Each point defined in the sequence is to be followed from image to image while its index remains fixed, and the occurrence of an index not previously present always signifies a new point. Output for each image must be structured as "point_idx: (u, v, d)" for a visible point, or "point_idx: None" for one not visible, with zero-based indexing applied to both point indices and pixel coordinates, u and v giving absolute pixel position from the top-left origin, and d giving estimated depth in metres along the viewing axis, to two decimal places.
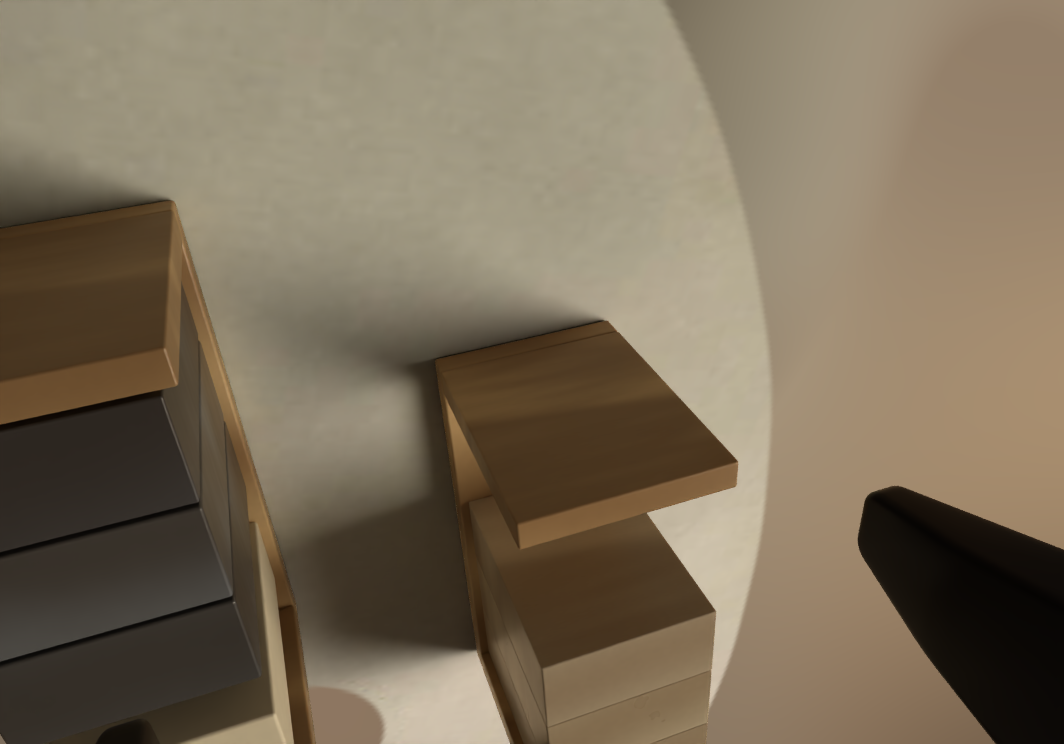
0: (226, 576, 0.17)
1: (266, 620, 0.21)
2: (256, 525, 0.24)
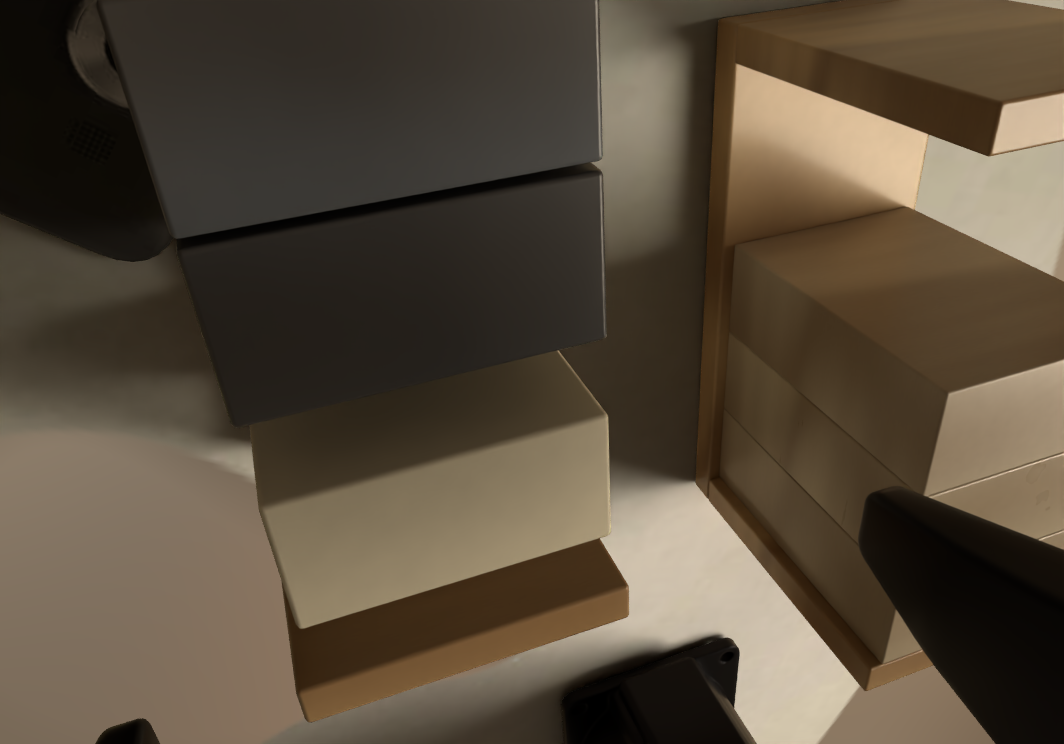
0: (601, 115, 0.10)
1: None
2: None
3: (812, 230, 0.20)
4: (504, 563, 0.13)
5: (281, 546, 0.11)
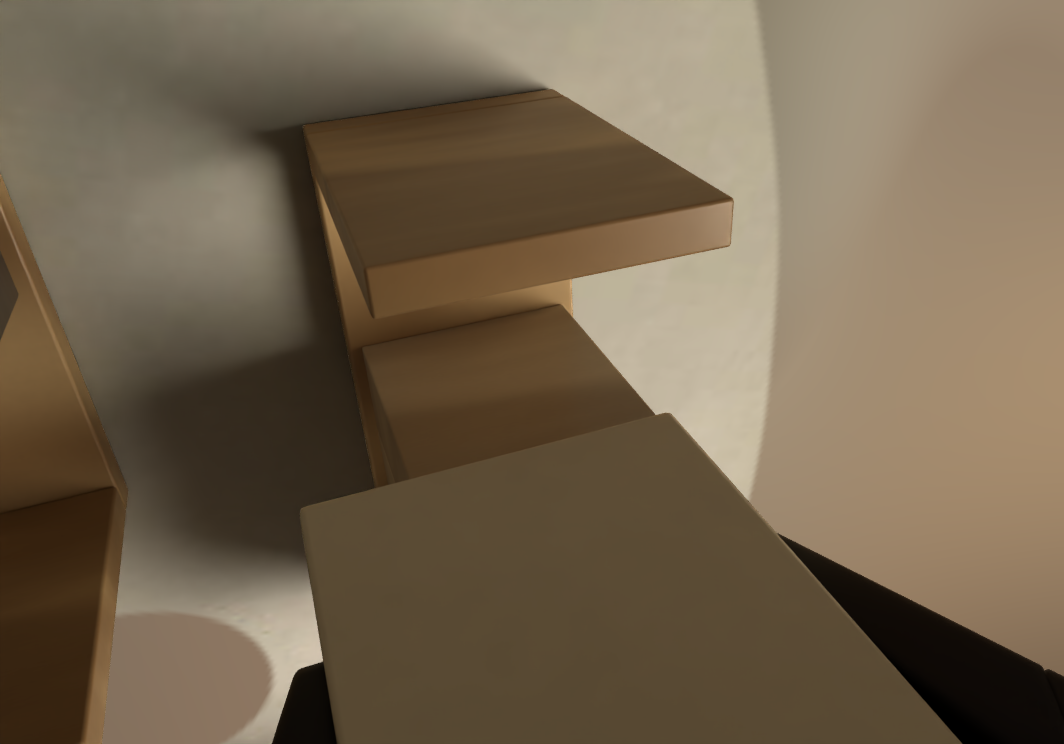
0: None
1: (859, 628, 0.08)
2: (674, 419, 0.11)
3: (449, 331, 0.20)
4: None
5: None
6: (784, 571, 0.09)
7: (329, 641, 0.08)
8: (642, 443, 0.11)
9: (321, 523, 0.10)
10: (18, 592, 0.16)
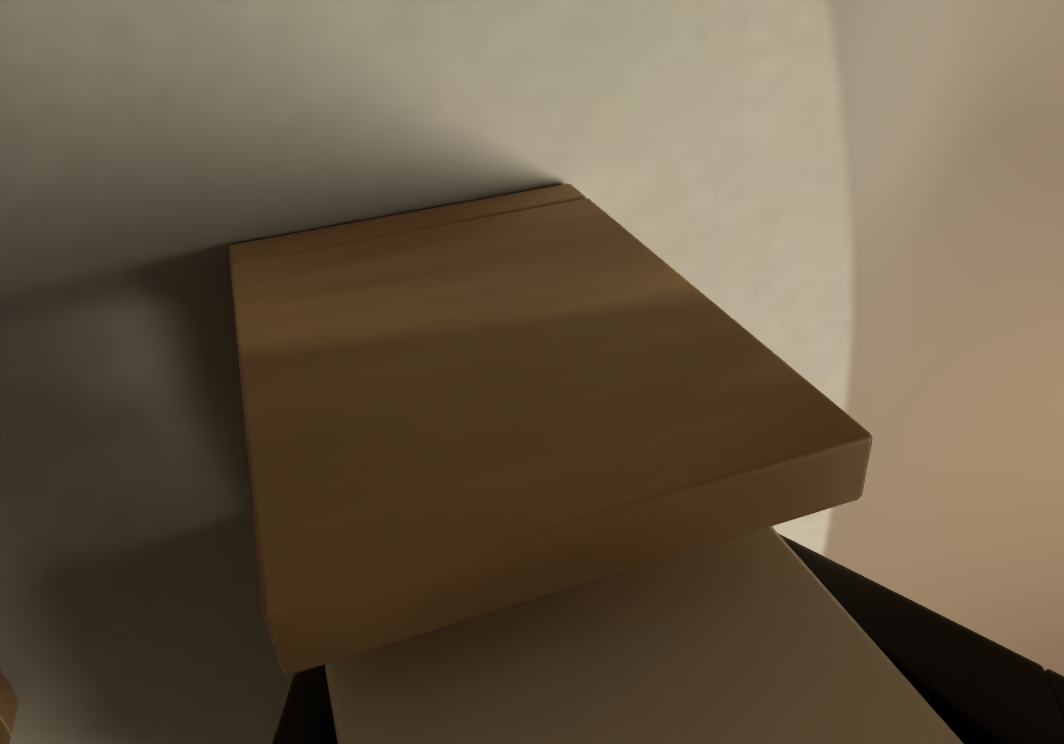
0: None
1: (860, 628, 0.08)
2: None
3: None
4: None
5: None
6: (785, 570, 0.09)
7: None
8: None
9: None
10: None
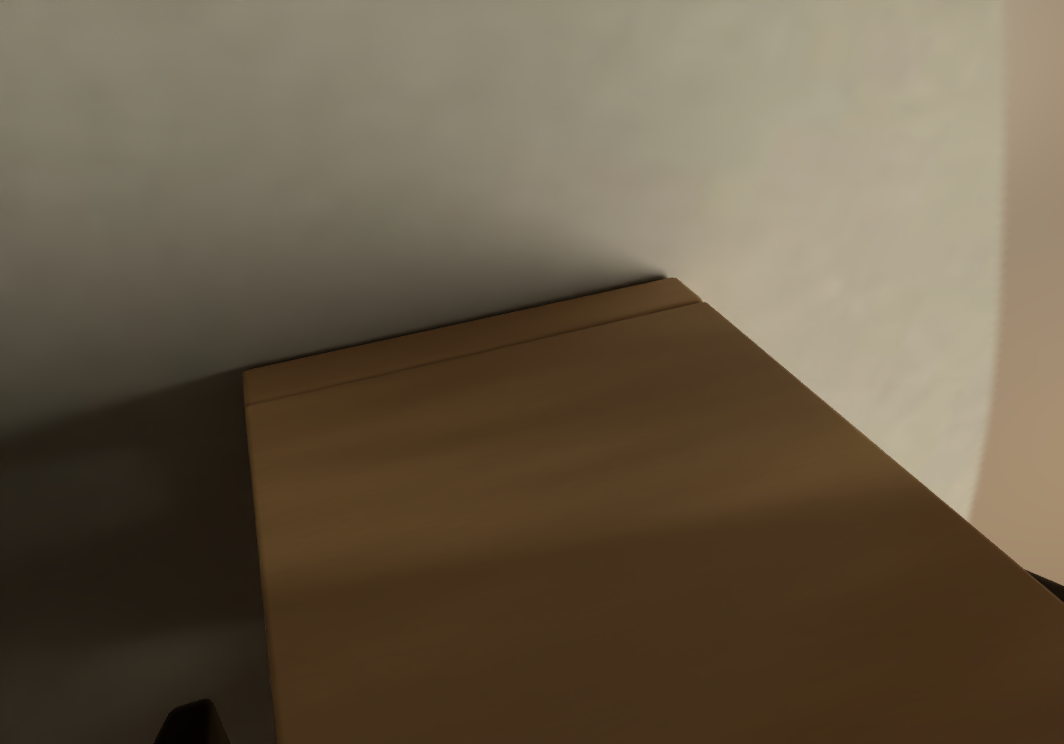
0: None
1: None
2: None
3: None
4: None
5: None
6: None
7: None
8: None
9: None
10: None
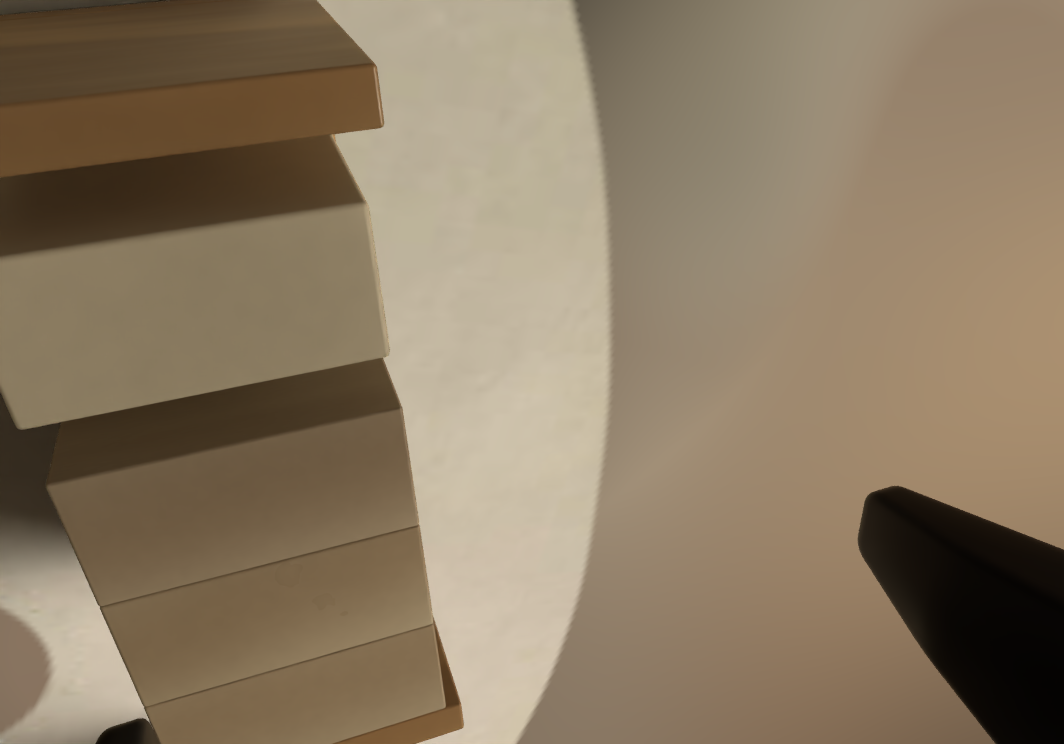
0: None
1: None
2: None
3: None
4: (263, 375, 0.12)
5: None
6: None
7: None
8: None
9: None
10: None
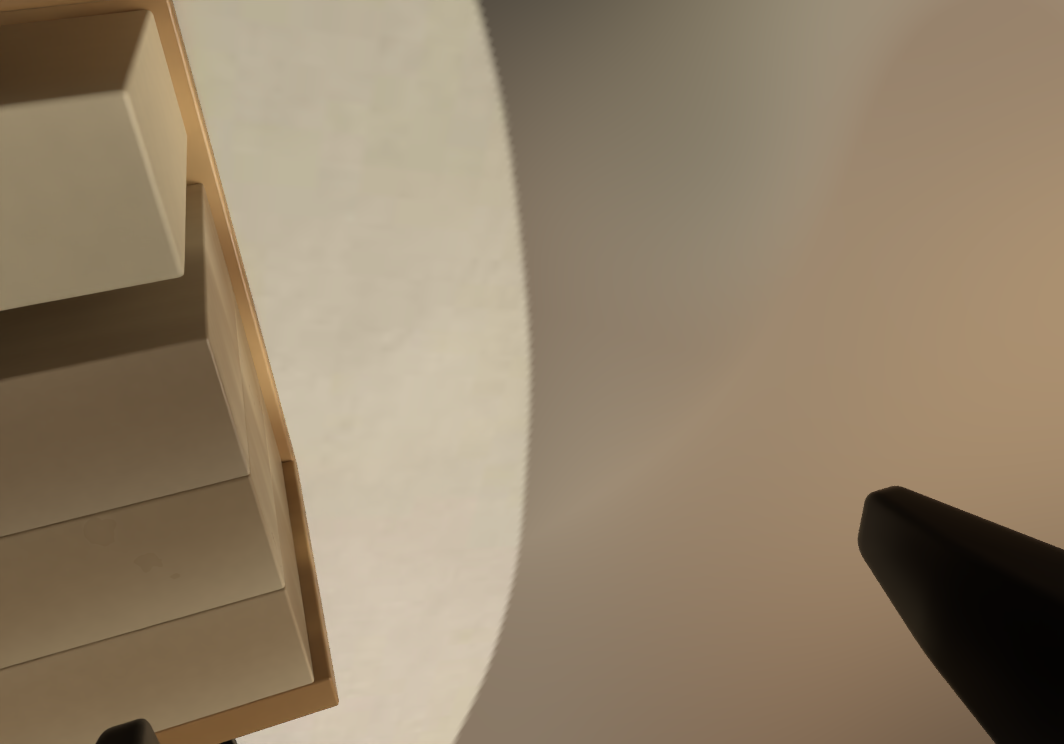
0: None
1: (141, 50, 0.12)
2: (150, 12, 0.15)
3: None
4: (29, 297, 0.10)
5: None
6: (122, 38, 0.13)
7: None
8: (109, 17, 0.15)
9: None
10: None
